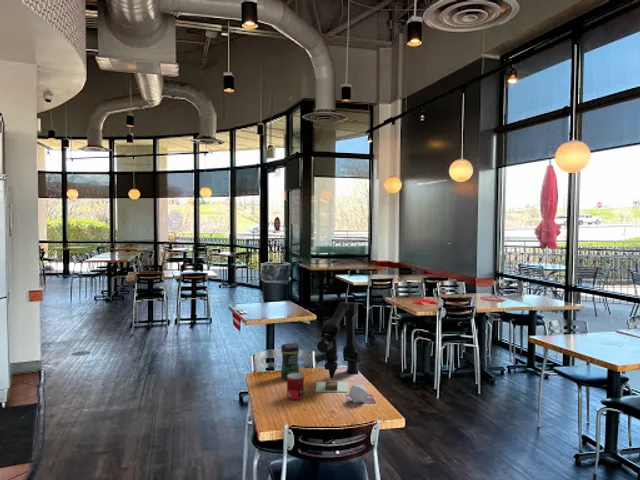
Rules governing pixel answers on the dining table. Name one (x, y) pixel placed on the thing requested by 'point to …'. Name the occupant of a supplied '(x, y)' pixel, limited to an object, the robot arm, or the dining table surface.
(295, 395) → the canned food
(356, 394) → the die
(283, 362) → the coffee jar
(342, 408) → the dining table surface
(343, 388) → the mat
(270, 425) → the dining table surface
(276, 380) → the dining table surface
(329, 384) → the walnut slab
